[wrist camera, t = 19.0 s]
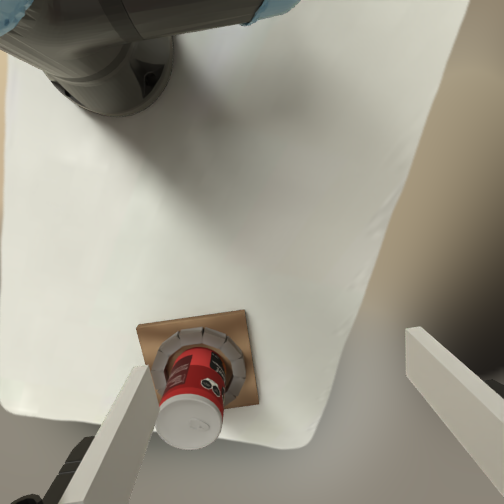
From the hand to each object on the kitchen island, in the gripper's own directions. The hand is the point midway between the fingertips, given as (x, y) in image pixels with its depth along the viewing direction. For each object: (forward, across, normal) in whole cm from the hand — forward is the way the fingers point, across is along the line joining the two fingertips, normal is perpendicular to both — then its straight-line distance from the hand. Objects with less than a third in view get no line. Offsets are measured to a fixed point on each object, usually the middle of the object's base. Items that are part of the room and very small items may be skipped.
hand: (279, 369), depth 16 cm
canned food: (+28, -11, -18) cm, 35 cm away
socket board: (+29, -11, -18) cm, 36 cm away
